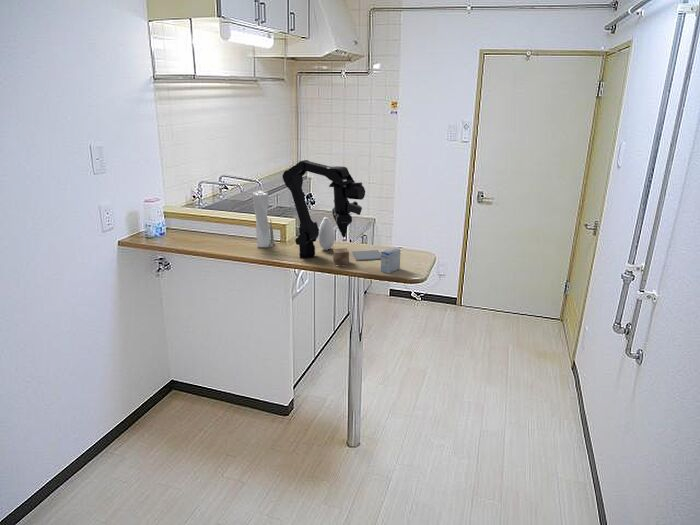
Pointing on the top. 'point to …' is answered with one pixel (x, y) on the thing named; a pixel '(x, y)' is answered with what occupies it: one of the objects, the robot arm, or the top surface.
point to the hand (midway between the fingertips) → (342, 234)
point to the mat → (367, 255)
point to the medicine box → (390, 260)
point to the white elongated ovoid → (326, 234)
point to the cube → (341, 256)
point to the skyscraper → (262, 220)
